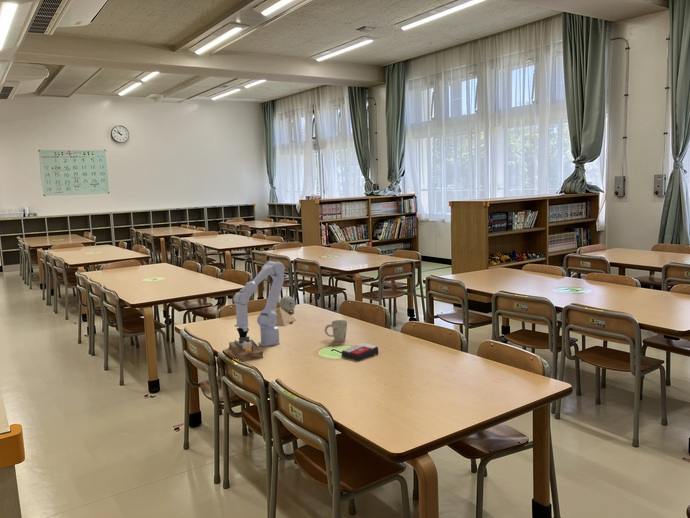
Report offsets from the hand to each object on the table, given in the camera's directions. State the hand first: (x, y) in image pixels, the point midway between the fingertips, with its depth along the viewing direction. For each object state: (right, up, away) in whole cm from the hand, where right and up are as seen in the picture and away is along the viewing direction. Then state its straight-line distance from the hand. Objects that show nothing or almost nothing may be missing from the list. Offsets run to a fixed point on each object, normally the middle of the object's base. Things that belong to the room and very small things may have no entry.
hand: (243, 341), depth 277 cm
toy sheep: (+14, +7, +82) cm, 83 cm away
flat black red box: (+59, -5, -12) cm, 61 cm away
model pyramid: (+12, +3, +56) cm, 58 cm away
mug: (+47, -1, +15) cm, 49 cm away
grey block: (+2, -2, -5) cm, 6 cm away
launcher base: (+2, -5, -4) cm, 6 cm away
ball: (+4, -3, -10) cm, 11 cm away
